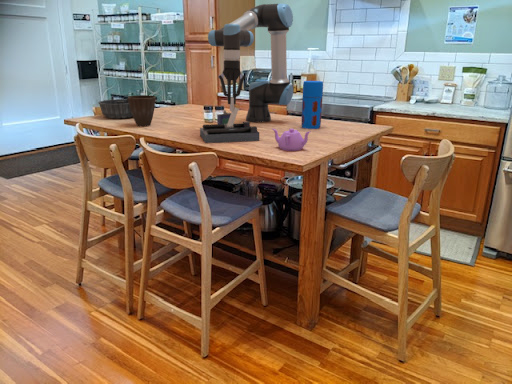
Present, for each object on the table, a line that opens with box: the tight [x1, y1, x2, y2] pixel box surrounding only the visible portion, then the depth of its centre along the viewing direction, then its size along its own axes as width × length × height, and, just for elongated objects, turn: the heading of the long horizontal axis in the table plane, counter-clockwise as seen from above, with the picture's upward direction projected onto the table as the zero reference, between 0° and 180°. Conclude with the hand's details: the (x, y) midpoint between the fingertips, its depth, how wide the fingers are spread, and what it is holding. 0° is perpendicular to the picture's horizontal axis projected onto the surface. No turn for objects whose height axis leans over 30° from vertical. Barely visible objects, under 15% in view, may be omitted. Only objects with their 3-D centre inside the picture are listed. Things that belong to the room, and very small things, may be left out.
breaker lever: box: [227, 104, 241, 126], centre depth 200 cm, size 2×5×13 cm, turn 16°
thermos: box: [301, 80, 324, 130], centre depth 229 cm, size 11×11×25 cm
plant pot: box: [127, 94, 157, 127], centre depth 231 cm, size 15×15×16 cm
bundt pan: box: [97, 98, 133, 120], centre depth 259 cm, size 26×26×10 cm
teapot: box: [272, 128, 311, 152], centre depth 182 cm, size 12×14×9 cm
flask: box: [216, 109, 231, 124], centre depth 220 cm, size 9×3×11 cm, turn 121°
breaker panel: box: [199, 121, 260, 144], centre depth 202 cm, size 26×18×6 cm
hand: (231, 111), depth 199 cm, fingers closed
